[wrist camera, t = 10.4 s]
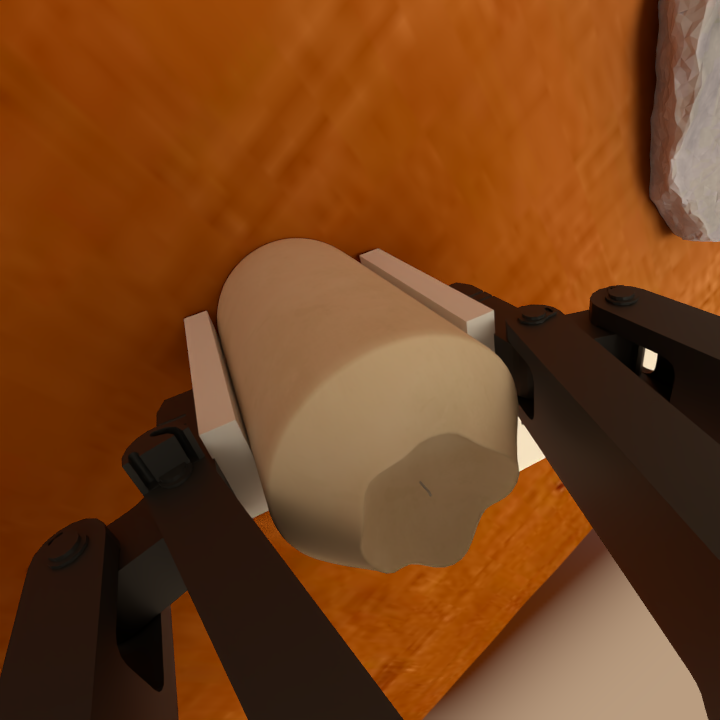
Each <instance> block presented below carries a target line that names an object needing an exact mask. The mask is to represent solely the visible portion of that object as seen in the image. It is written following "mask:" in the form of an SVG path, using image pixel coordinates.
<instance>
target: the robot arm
mask: <svg viewBox="0 0 720 720" xmlns="http://www.w3.org/2000/svg"><path fill="white" fill-rule="evenodd" d="M359 256H360V261H361V264H362V265H364V266H365V267H367V268H368V269H370V270H371V271H373V272H374V273H376V274H377V275H379V276H380V277H382V278H384V279H385V280H387V281H388V282H390V283H391V284H393V285H394V286H396V287H397V288H399V289H400V290H402V291H403V292H405V293H406V294H408V295H409V296H411V297H412V298H414V299H415V300H417V301H418V302H420V303H421V304H423V305H425V306H426V307H428V308H429V309H431V310H432V311H434V312H435V313H437V314H438V315H440V316H441V317H443V318H444V319H446V320H447V321H449V322H450V323H452V324H453V325H455V326H456V327H458V328H459V329H461V330H462V331H464V332H466V333H467V334H469V335H470V336H472V337H473V338H475V339H476V340H478V341H479V342H481V343H482V344H484V345H485V346H487V347H488V348H490V349H491V350H492V351H493V352H494V353H495V354H496V355H498V356H499V357H500V358H501V360H502V361H503V362H504V364H505V365H506V366H507V368H508V370H509V372H510V374H511V376H512V378H513V380H514V383H515V387H516V390H517V397H518V417H519V418H520V420H521V424H522V425H524V426H525V427H526V429H527V430H528V432H529V433H530V435H531V436H532V438H533V439H534V441H535V442H536V444H537V445H538V447H539V448H540V450H541V451H542V453H543V454H544V456H545V457H546V459H547V460H548V462H549V463H550V465H551V466H552V468H553V469H554V471H555V472H556V474H557V475H558V476H559V478H560V479H561V481H562V482H563V484H564V485H565V487H566V488H567V490H568V491H569V493H570V494H571V496H572V497H573V499H574V500H575V502H576V503H577V505H578V506H579V508H580V509H581V511H582V512H583V514H584V515H585V517H586V518H587V520H588V521H589V523H590V524H591V526H592V527H593V529H594V530H595V531H596V533H597V535H598V536H599V537H600V539H601V540H602V542H603V543H604V545H605V546H606V548H607V549H608V551H609V552H610V554H611V555H612V557H613V558H614V560H615V561H616V563H617V564H618V566H619V567H620V569H621V570H622V572H623V573H624V575H625V576H626V578H627V579H628V581H629V582H630V584H631V585H632V587H633V588H634V590H635V591H636V593H637V594H638V595H639V597H640V599H641V600H642V601H643V603H644V604H645V606H646V607H647V609H648V610H649V612H650V613H651V615H652V616H653V618H654V619H655V621H656V622H657V624H658V625H659V627H660V628H661V630H662V631H663V633H664V634H665V636H666V637H667V639H668V640H669V642H670V643H671V645H672V646H673V648H674V649H675V651H676V652H677V654H678V655H679V657H680V658H681V660H682V661H683V662H684V664H685V665H686V667H687V668H688V670H689V671H690V673H691V675H692V676H693V678H694V680H695V681H696V683H697V685H698V687H699V690H700V692H701V694H702V698H703V702H704V705H705V709H706V713H707V716H708V719H709V720H720V316H717V315H715V314H712V313H709V312H706V311H703V310H700V309H698V308H695V307H692V306H689V305H686V304H683V303H681V302H678V301H675V300H672V299H669V298H667V297H664V296H661V295H658V294H655V293H652V292H650V291H647V290H644V289H640V288H636V287H631V286H623V285H616V286H609V287H607V288H603V289H599V290H598V291H596V292H594V293H593V294H592V296H591V298H590V307H589V310H586V311H581V312H576V313H572V314H567V315H564V314H563V313H562V312H561V311H559V310H558V309H556V308H554V307H551V306H546V305H527V306H521V307H519V308H517V307H515V306H513V305H511V304H509V303H507V302H505V301H503V300H501V299H499V298H497V297H495V296H493V297H492V295H491V294H489V293H487V292H483V291H482V290H480V289H478V288H476V287H474V286H472V285H468V284H462V283H454V284H451V285H449V286H448V285H446V284H444V283H442V282H440V281H438V280H436V279H435V278H433V277H431V276H429V275H427V274H425V273H423V272H422V271H420V270H418V269H416V268H414V267H412V266H410V265H408V264H407V263H405V262H403V261H401V260H399V259H397V258H395V257H393V256H392V255H390V254H388V253H386V252H384V251H382V250H380V249H379V248H378V249H375V250H372V251H370V252H367V253H364V254H361V255H359ZM184 324H185V332H186V340H187V347H188V355H189V363H190V371H191V378H192V386H193V389H192V390H189V391H187V392H184V393H182V394H179V395H177V396H174V397H172V398H169V399H167V400H164V402H163V404H162V405H161V407H160V409H159V411H158V412H157V427H156V428H153V429H151V430H149V431H147V432H146V433H144V434H143V435H141V436H140V437H138V438H137V439H136V440H135V441H134V442H133V443H132V444H131V445H130V446H129V447H128V448H127V449H126V451H125V453H124V455H123V457H122V467H123V468H124V470H125V471H126V472H127V474H128V475H129V477H130V478H131V479H132V481H133V482H134V483H135V485H136V486H137V487H138V489H139V490H140V491H141V493H142V494H143V496H144V498H143V499H142V500H141V501H140V502H139V503H138V504H137V505H136V506H135V507H133V508H132V509H131V510H130V511H128V512H127V513H125V514H124V515H123V516H121V517H120V518H118V519H117V520H115V521H114V522H112V523H111V524H110V525H108V526H106V525H105V524H104V523H103V522H101V521H100V520H98V519H83V520H80V521H77V522H74V523H72V524H70V525H68V526H67V527H65V528H63V529H62V530H60V531H58V532H57V533H56V534H54V535H53V536H52V537H51V538H50V539H49V540H47V541H46V542H45V543H44V544H43V545H42V547H41V548H40V549H39V550H38V552H37V553H36V554H35V555H34V557H33V559H32V561H31V563H30V565H29V568H28V570H27V574H26V578H25V582H24V586H23V590H22V594H21V598H20V602H19V606H18V610H17V614H16V618H15V622H14V626H13V629H12V633H11V637H10V641H9V645H8V649H7V653H6V657H5V661H4V665H3V669H2V673H1V677H0V720H179V719H178V705H177V691H176V677H175V662H174V648H173V634H172V620H171V606H170V604H171V603H173V602H174V601H175V600H176V599H177V598H179V597H180V596H181V595H182V594H183V593H185V592H186V591H187V590H188V592H189V594H190V596H191V598H192V601H193V603H194V605H195V607H196V609H197V611H198V613H199V616H200V618H201V620H202V622H203V624H204V626H205V628H206V631H207V633H208V635H209V637H210V639H211V641H212V643H213V646H214V648H215V650H216V652H217V654H218V656H219V658H220V661H221V663H222V665H223V667H224V669H225V671H226V673H227V676H228V678H229V680H230V682H231V684H232V686H233V688H234V691H235V693H236V695H237V697H238V699H239V701H240V703H241V706H242V708H243V710H244V712H245V714H246V716H247V718H248V720H403V718H402V717H401V716H400V714H399V713H398V712H397V710H396V709H395V708H394V706H393V705H392V704H391V702H390V701H389V700H388V698H387V697H386V696H385V694H384V693H383V692H382V690H381V689H380V688H379V686H378V685H377V684H376V682H375V681H374V680H373V678H372V677H371V676H370V674H369V673H368V672H367V670H366V669H365V668H364V667H363V665H362V664H361V663H360V661H359V660H358V659H357V657H356V656H355V655H354V653H353V652H352V651H351V649H350V648H349V647H348V645H347V644H346V643H345V641H344V640H343V639H342V637H341V636H340V635H339V633H338V632H337V631H336V629H335V628H334V627H333V625H332V624H331V623H330V621H329V620H328V619H327V617H326V616H325V615H324V613H323V612H322V611H321V609H320V608H319V607H318V605H317V604H316V603H315V601H314V600H313V599H312V597H311V596H310V595H309V593H308V592H307V591H306V589H305V588H304V587H303V585H302V584H301V583H300V581H299V580H298V579H297V577H296V576H295V575H294V573H293V572H292V571H291V569H290V568H289V567H288V565H287V564H286V563H285V561H284V560H283V559H282V558H281V556H280V555H279V554H278V552H277V551H276V550H275V548H274V547H273V546H272V544H271V543H270V542H269V540H268V539H267V538H266V536H265V535H264V534H263V532H262V531H261V530H260V528H259V527H258V526H257V524H256V523H255V522H254V520H253V519H252V518H254V517H256V516H258V515H260V514H262V513H264V512H266V511H269V509H268V505H267V502H266V499H265V495H264V492H263V488H262V485H261V481H260V478H259V474H258V471H257V467H256V464H255V460H254V457H253V453H252V450H251V446H250V443H249V439H248V436H247V432H246V429H245V426H244V422H243V419H242V415H241V412H240V408H239V405H238V401H237V398H236V394H235V391H234V387H233V384H232V380H231V377H230V373H229V370H228V367H227V363H226V360H225V356H224V353H223V349H222V345H221V341H220V338H219V336H218V334H217V332H216V330H215V328H214V325H213V323H212V321H211V319H210V317H209V314H208V312H207V311H204V312H201V313H198V314H196V315H193V316H190V317H187V318H185V319H184ZM645 349H648V350H650V351H652V352H654V353H657V354H658V355H657V361H656V366H655V369H654V370H650V369H647V368H645V367H644V366H643V361H644V355H645Z"/></svg>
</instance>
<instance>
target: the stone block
mask: <svg viewBox="0 0 720 720" xmlns="http://www.w3.org/2000/svg"><path fill="white" fill-rule="evenodd" d="M658 10H659V12H658V18H659V33H658V43H657V47H656V64H655V70H656V76H657V82H656V89H655V96H654V108H653V112H652V115H651V149H650V166H651V174H650V186H649V194H650V199H651V200H652V201H653V202H654V203H655V205H656V207H657V209H658V211H659V213H660V215H661V216H662V217H663V219H664V220H665V222H666V224H667V225H668V226H669V228H670V229H671V230H672V232H673V233H674V234H675V235H677V236H680V237H681V238H682V239H683V240H684V239H685V240H690V241H714V242H718V241H720V0H659V2H658Z"/></svg>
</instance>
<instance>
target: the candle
mask: <svg viewBox="0 0 720 720" xmlns="http://www.w3.org/2000/svg"><path fill="white" fill-rule="evenodd" d="M217 326H218V332H219V336H220V341H221V345H222V349H223V353H224V356H225V360H226V363H227V367H228V370H229V373H230V377H231V380H232V384H233V387H234V391H235V394H236V398H237V401H238V405H239V408H240V412H241V415H242V419H243V422H244V426H245V429H246V432H247V436H248V439H249V443H250V446H251V450H252V453H253V457H254V460H255V464H256V467H257V471H258V474H259V478H260V481H261V485H262V488H263V492H264V495H265V499H266V502H267V505H268V509H269V512H270V515H271V517H272V520H273V522H274V524H275V526H276V528H277V529H278V531H279V532H280V534H281V535H282V537H283V538H284V539H285V540H286V541H287V542H288V543H289V544H291V545H292V546H293V547H294V548H296V549H297V550H299V551H300V552H302V553H304V554H306V555H308V556H310V557H313V558H315V559H319V560H322V561H326V562H330V563H334V564H339V565H345V566H350V567H357V568H363V569H370V570H376V571H380V572H383V573H394V572H396V571H398V570H399V569H401V568H402V567H405V566H407V565H409V564H420V565H426V566H430V567H447V566H450V565H453V564H455V563H457V562H458V561H459V560H461V559H462V558H463V557H464V555H465V554H466V553H467V551H468V549H469V547H470V545H471V542H472V540H473V537H474V534H475V531H476V528H477V525H478V523H479V520H480V518H481V516H482V514H483V513H484V511H485V509H486V508H488V507H489V506H491V505H492V504H494V503H496V502H498V501H500V500H502V499H503V498H505V497H506V496H507V495H508V494H509V493H510V492H511V491H512V490H513V488H514V486H515V485H516V483H517V480H518V477H519V465H518V459H517V429H518V397H517V390H516V387H515V383H514V380H513V378H512V376H511V374H510V372H509V370H508V368H507V366H506V365H505V364H504V362H503V361H502V360H501V358H500V357H499V356H498V355H496V354H495V353H494V352H493V351H492V350H491V349H490V348H488V347H487V346H485V345H484V344H482V343H481V342H479V341H478V340H476V339H475V338H473V337H472V336H470V335H469V334H467V333H466V332H464V331H462V330H461V329H459V328H458V327H456V326H455V325H453V324H452V323H450V322H449V321H447V320H446V319H444V318H443V317H441V316H440V315H438V314H437V313H435V312H434V311H432V310H431V309H429V308H428V307H426V306H425V305H423V304H421V303H420V302H418V301H417V300H415V299H414V298H412V297H411V296H409V295H408V294H406V293H405V292H403V291H402V290H400V289H399V288H397V287H396V286H394V285H393V284H391V283H390V282H388V281H387V280H385V279H384V278H382V277H380V276H379V275H377V274H376V273H374V272H373V271H371V270H370V269H368V268H367V267H365V266H364V265H362V264H361V263H359V262H358V261H356V260H355V259H353V258H352V257H350V256H348V255H347V254H345V253H344V252H342V251H340V250H339V249H337V248H335V247H333V246H331V245H329V244H326V243H324V242H320V241H317V240H312V239H304V238H289V239H282V240H278V241H274V242H271V243H268V244H266V245H264V246H262V247H260V248H258V249H256V250H255V251H253V252H251V253H250V254H249V255H247V256H246V257H245V258H244V259H243V260H242V261H241V262H240V263H239V264H238V265H237V266H236V267H235V268H234V270H233V271H232V272H231V274H230V275H229V277H228V278H227V280H226V282H225V284H224V286H223V289H222V292H221V295H220V299H219V303H218V309H217Z"/></svg>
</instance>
